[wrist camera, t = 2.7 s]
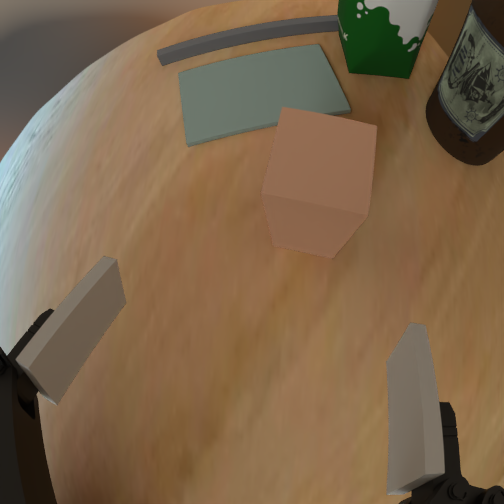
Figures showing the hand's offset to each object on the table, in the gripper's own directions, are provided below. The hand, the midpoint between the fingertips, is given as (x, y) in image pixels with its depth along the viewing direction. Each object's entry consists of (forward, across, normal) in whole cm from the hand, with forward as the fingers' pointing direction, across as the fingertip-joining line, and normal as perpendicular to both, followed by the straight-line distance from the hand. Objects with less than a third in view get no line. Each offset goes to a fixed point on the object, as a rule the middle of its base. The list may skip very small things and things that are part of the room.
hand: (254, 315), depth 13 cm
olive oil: (+24, +17, +8) cm, 30 cm away
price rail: (+30, -5, +13) cm, 33 cm away
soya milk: (+29, +6, +13) cm, 33 cm away
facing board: (+23, -5, +7) cm, 25 cm away
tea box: (+14, +2, -3) cm, 14 cm away
